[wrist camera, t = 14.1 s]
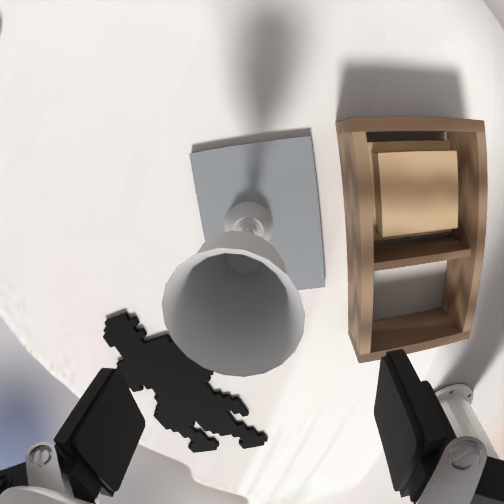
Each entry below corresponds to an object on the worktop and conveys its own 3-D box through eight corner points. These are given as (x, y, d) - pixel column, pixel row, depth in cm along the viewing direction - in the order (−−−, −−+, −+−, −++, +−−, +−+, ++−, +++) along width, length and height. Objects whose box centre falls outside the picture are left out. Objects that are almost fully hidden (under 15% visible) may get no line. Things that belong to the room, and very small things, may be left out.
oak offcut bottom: (441, 225, 32) (451, 231, 29) (365, 234, 33) (371, 241, 30) (438, 140, 28) (449, 140, 26) (358, 142, 29) (365, 142, 27)
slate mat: (323, 283, 34) (325, 286, 33) (218, 295, 35) (217, 298, 35) (309, 136, 29) (310, 136, 28) (191, 153, 30) (189, 153, 30)
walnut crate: (447, 313, 35) (468, 338, 29) (348, 332, 36) (358, 363, 31) (453, 121, 27) (483, 120, 21) (335, 122, 28) (350, 117, 23)
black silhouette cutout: (269, 439, 45) (174, 293, 36) (269, 444, 44) (172, 297, 35) (188, 452, 48) (85, 326, 39) (187, 456, 47) (82, 330, 38)
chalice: (202, 207, 31) (135, 281, 14) (264, 179, 30) (267, 221, 13) (234, 269, 33) (208, 389, 16) (293, 244, 32) (324, 351, 15)
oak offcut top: (448, 222, 29) (457, 227, 27) (376, 231, 30) (382, 237, 28) (446, 149, 26) (456, 150, 25) (371, 152, 27) (377, 153, 25)
